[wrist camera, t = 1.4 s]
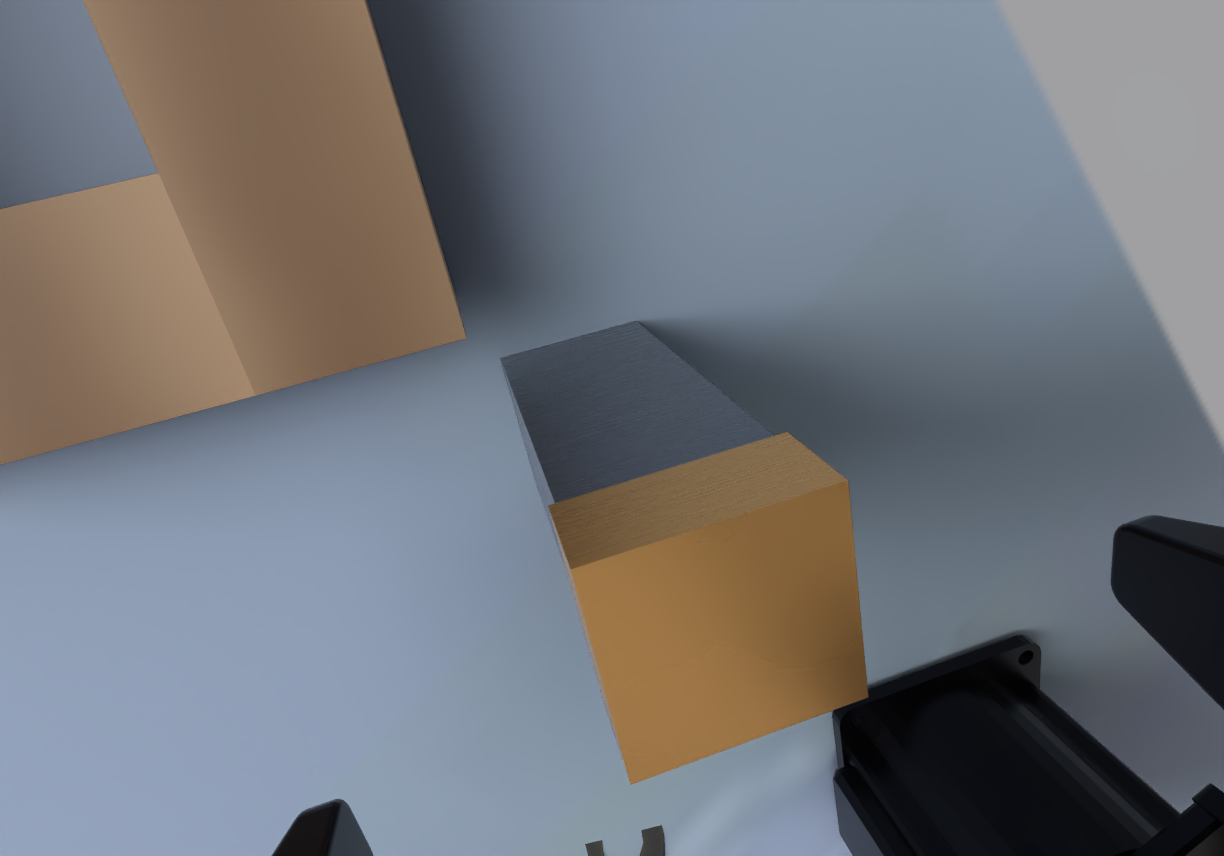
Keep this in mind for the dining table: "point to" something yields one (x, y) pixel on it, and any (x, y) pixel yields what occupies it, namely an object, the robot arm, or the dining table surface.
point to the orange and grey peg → (689, 548)
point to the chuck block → (222, 228)
